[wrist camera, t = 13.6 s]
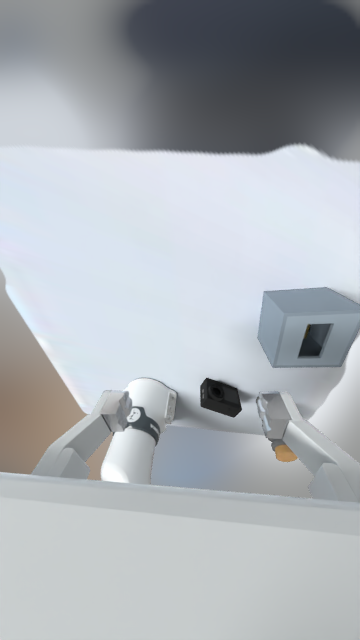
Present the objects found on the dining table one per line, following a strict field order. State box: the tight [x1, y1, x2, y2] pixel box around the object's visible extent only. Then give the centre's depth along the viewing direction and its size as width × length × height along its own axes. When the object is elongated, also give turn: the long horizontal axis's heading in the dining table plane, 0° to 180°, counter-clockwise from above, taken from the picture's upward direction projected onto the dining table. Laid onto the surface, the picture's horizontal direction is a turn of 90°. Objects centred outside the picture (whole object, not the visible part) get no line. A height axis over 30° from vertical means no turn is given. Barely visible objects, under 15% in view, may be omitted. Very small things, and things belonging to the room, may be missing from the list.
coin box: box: [258, 287, 360, 368], centre depth 34 cm, size 12×12×10 cm
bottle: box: [256, 397, 298, 462], centre depth 47 cm, size 6×6×15 cm
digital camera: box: [200, 378, 242, 417], centre depth 49 cm, size 10×5×7 cm, turn 69°
